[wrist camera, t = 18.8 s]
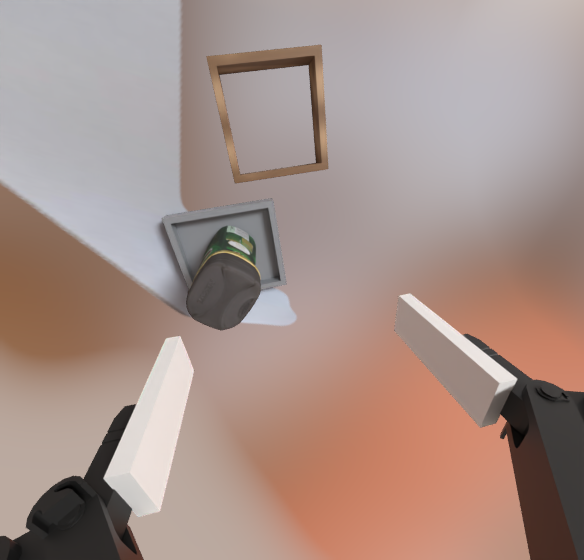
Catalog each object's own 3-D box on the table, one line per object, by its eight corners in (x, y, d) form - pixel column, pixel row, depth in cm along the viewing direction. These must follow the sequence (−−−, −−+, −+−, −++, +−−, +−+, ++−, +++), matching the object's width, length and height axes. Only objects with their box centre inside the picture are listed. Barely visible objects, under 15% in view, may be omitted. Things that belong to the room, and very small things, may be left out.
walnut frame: (210, 66, 33) (206, 56, 30) (314, 55, 35) (321, 44, 31) (235, 181, 40) (234, 183, 37) (322, 168, 41) (328, 169, 38)
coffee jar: (237, 281, 47) (232, 344, 31) (198, 261, 44) (170, 320, 28) (263, 240, 44) (273, 286, 28) (224, 217, 41) (210, 252, 25)
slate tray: (166, 215, 40) (161, 218, 38) (271, 198, 42) (273, 200, 40) (196, 295, 48) (193, 302, 45) (284, 278, 49) (286, 284, 47)
